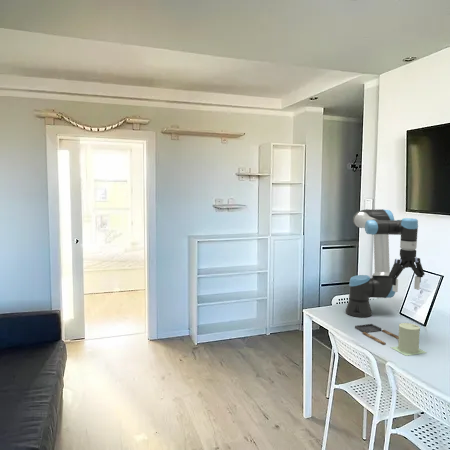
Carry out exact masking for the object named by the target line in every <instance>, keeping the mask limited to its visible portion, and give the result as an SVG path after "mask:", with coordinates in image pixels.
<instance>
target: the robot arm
mask: <svg viewBox="0 0 450 450" xmlns="http://www.w3.org/2000/svg"><path fill="white" fill-rule="evenodd" d="M352 223H353V225H355V227H357V228H360V229H364V231H365V233H366V234H367V235H372V236H373V253H374V255H373V256H374V257H373V260H374V263H373V264H374V273H372V275H371V276H372V277H370V275H366V274H365V275H364V274H357V275H354V276H351V277H350V279H349V284H348V286H349V287H348V288H349V290H348V302H347V305H346V307H345V314H346V315H348V316H350V317H351V316H352V317H356V318H368V317H369V318H370V317H372V314H373V313H372V308H371V304H370V298H377V299H379V298H380V299H383V298H384V299H387V298H388V299H391V298H394V296H395V294H396V293H398V289H399V288H398V287H399V279H398V277H399V276H400V275H401V273H402V272H403V271H404V270H405V269H406V268H411V270H412V271H413V273H414V274H415V275H414V287H413V289H414V290H418V291H420V283H421V282H422V278H423V277H424V276H425V271H424V268H423V265H422V263H421V258H420V257H417V247H418V245H417V244H418V231H419V229H418V228H419V220H418V219H417V218H413V217H405V218H404V217H403V218H402V219H396V220H395V216H394V213H393V212H392V211H391V210H389V209H384V208H383V209H379V208H378V209H362V210H359V211H357V212H355V214H354V215H353V217H352ZM391 235H392V236H393V235H394V236H395V235H397V236H400V241H399V242H400V244H399V248H400V249H399V257H400V259H399V258H395V259H394V263H393V266H392V267H391V270H390V245H389V244H390V239H389V236H391Z"/></svg>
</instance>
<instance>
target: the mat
mask: <svg viewBox="0 0 450 450" xmlns="http://www.w3.org/2000/svg"><path fill="white" fill-rule="evenodd" d="M390 348H391V349H392V350H394V351H396V352H398V353H399V354H400V355H401V354H402V355H403V356H405V357H407V356H414V355H420V354H421V355H422V354H427V353H428V352H427V351H425V350H423V349H420V348H419V352H418V353H415V354H411V353H405V352H402V351H400V350H399V349H398V345H396V346H391V347H390Z"/></svg>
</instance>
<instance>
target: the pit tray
mask: <svg viewBox="0 0 450 450" xmlns="http://www.w3.org/2000/svg"><path fill="white" fill-rule="evenodd" d="M354 329H355V330H357V331H359V332H361V333H363V332H366V333H368V334H369V333H376V332H382V328H381V327H379V326H378V325H376V324H373V323H367V324H358V325H354Z"/></svg>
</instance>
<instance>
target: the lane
mask: <svg viewBox="0 0 450 450" xmlns="http://www.w3.org/2000/svg"><path fill="white" fill-rule="evenodd" d="M381 332H383V333H385V334H386V335H388V336H390V337H392V338H395V339H397V340H399V335H396V334H394V333H392V332H391V331H388V330H386V329H381ZM361 333H362V335H363V336H366V337H367V338H370V339H372V340H373V341H376V342H377V343H379V344H381V345H382V346H384V345H386V342H384V341H383V340H381V339H379V338H377V337H376V336H373V335H371V334H369V333H366V332H361Z"/></svg>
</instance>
